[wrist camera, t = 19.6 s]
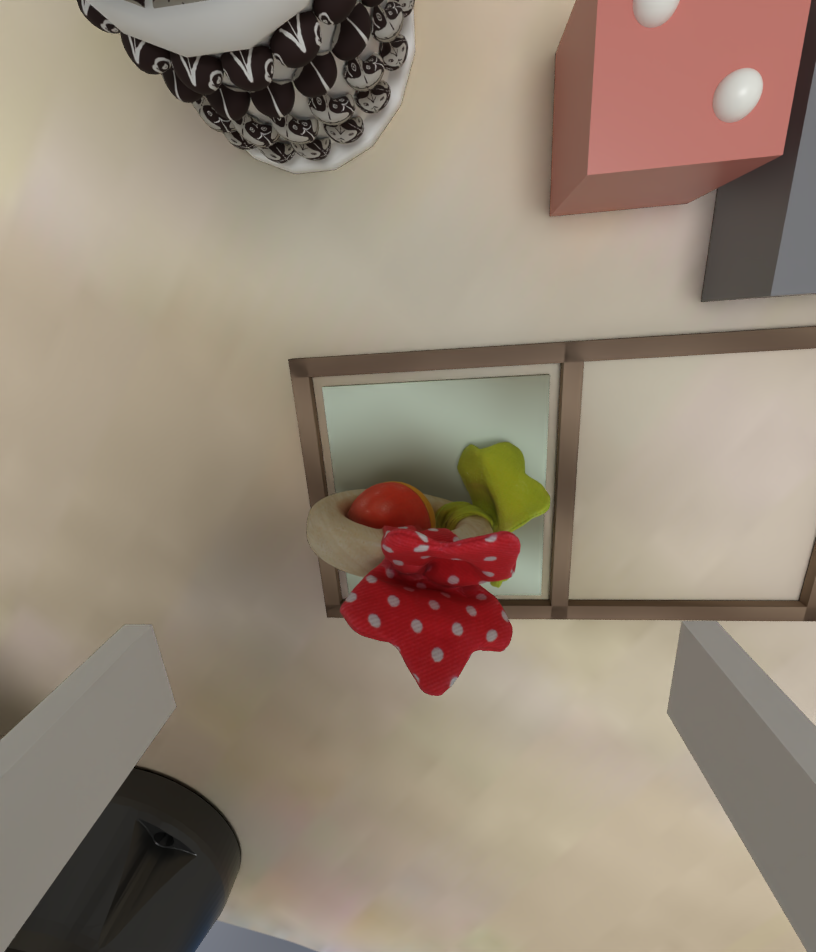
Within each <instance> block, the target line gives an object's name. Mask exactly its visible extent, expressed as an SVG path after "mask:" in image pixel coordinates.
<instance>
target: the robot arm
mask: <svg viewBox="0 0 816 952" xmlns="http://www.w3.org/2000/svg"><path fill="white" fill-rule="evenodd" d="M176 707H177V706H176V703H175V700H174V696H173V693H172V690H171V686H170V683H169V680H168V676H167V673H166V670H165V666H164V663H163V660H162V656H161V653H160V650H159V646H158V643H157V640H156V636H155V633H154V630H153V626H152V624H137V625H124V626H122V627H121V628H120V629H119V630H118V631H117V632H116V633H115V634H114V635H113V636H112V637H111V638H110V639H108V640H107V641H106V642H105V643H104V644H103V645H102V646H101V647H100V648H99V649H98V650H97V651H96V652H94V653H93V654H92V655H91V656H90V657H89V658H88V659H87V660H86V661H85V662H84V663H83V664H82V665H80V666H79V667H78V668H77V669H76V670H75V671H74V672H73V673H72V674H71V675H70V676H69V677H68V678H66V679H65V680H64V681H63V682H62V683H61V684H60V685H59V686H58V687H57V688H56V689H55V690H54V691H53V692H51V693H50V694H49V695H48V696H47V697H46V698H45V699H44V700H43V701H42V702H41V703H40V704H39V705H37V706H36V707H35V708H34V709H33V710H32V711H31V712H30V713H29V714H28V715H27V716H26V717H25V718H23V719H22V720H21V721H20V722H19V723H18V724H17V725H16V726H15V727H14V728H13V729H12V730H11V731H9V732H8V733H7V734H6V735H5V736H4V737H3V738H2V739H1V740H0V952H195V951H196V949H197V948H198V946H199V945H200V943H201V942H202V940H203V939H204V937H205V936H206V935H207V933H208V932H209V930H210V929H211V927H212V926H213V924H214V923H215V921H216V920H217V919H218V917H219V916H220V914H221V912H222V910H223V908H224V906H225V904H226V902H227V900H228V897H229V894H230V892H231V889H232V887H233V884H234V882H235V879H236V877H237V874H238V871H239V868H240V850H239V846H238V843H237V840H236V838H235V836H234V834H233V832H232V830H231V829H230V827H229V826H228V824H227V823H226V822H225V820H224V819H223V818H222V817H221V816H220V814H219V813H218V812H217V811H216V810H215V809H214V808H213V807H211V806H210V805H209V804H208V803H207V802H206V801H204V800H203V799H202V798H200V797H199V796H198V795H196V794H195V793H193V792H191V791H190V790H188V789H187V788H185V787H183V786H181V785H179V784H177V783H175V782H173V781H171V780H169V779H166V778H164V777H161V776H159V775H156V774H153V773H150V772H146V771H143V770H138V769H134V766H135V765H136V764H137V762H138V761H139V759H140V758H141V757H142V755H143V754H144V752H145V751H146V749H147V748H148V747H149V745H150V744H151V742H152V741H153V739H154V738H155V737H156V735H157V734H158V732H159V731H160V730H161V728H162V727H163V725H164V724H165V722H166V721H167V720H168V718H169V717H170V715H171V714H172V712H173V711H174V710H175V708H176ZM667 714H668V715H669V717H670V719H671V720H672V722H673V724H674V726H675V727H676V729H677V731H678V732H679V734H680V736H681V737H682V739H683V741H684V743H685V744H686V746H687V748H688V749H689V751H690V753H691V755H692V756H693V758H694V760H695V761H696V763H697V765H698V766H699V768H700V770H701V772H702V773H703V775H704V777H705V778H706V780H707V782H708V784H709V785H710V787H711V789H712V790H713V792H714V794H715V795H716V797H717V799H718V801H719V802H720V804H721V806H722V807H723V809H724V811H725V813H726V814H727V816H728V818H729V819H730V821H731V823H732V824H733V826H734V828H735V830H736V831H737V833H738V835H739V836H740V838H741V840H742V842H743V843H744V845H745V847H746V848H747V850H748V852H749V853H750V855H751V857H752V859H753V860H754V862H755V864H756V865H757V867H758V869H759V870H760V872H761V874H762V876H763V877H764V879H765V881H766V882H767V884H768V886H769V888H770V889H771V891H772V893H773V894H774V896H775V898H776V899H777V901H778V903H779V905H780V906H781V908H782V910H783V911H784V913H785V915H786V917H787V918H788V920H789V922H790V923H791V925H792V927H793V928H794V930H795V932H796V934H797V935H798V937H799V939H800V940H801V942H802V944H803V946H804V947H805V949H806V951H807V952H816V726H815V725H814V724H813V723H812V722H811V721H810V720H809V719H808V718H807V717H806V716H805V714H804V713H803V712H802V711H801V710H800V709H799V708H798V707H797V706H796V705H795V704H794V703H793V702H792V701H791V700H790V699H789V697H788V696H787V695H786V694H785V693H784V692H783V691H782V690H781V689H780V688H779V687H778V686H777V685H776V684H775V683H774V682H773V680H772V679H771V678H770V677H769V676H768V675H767V674H766V673H765V672H764V671H763V670H762V669H761V668H760V667H759V666H758V665H757V663H756V662H755V661H754V660H753V659H752V658H751V657H750V656H749V655H748V654H747V653H746V652H745V651H744V650H743V649H742V648H741V646H740V645H739V644H738V643H737V642H736V641H735V640H734V639H733V638H732V637H731V636H730V635H729V634H728V633H727V632H726V631H725V629H724V628H723V627H722V626H721V625H720V624H719V623H718V622H717V621H682V622H681V628H680V634H679V640H678V647H677V653H676V659H675V665H674V671H673V678H672V684H671V690H670V696H669V703H668V709H667Z"/></svg>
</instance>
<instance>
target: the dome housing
mask: <svg viewBox="0 0 816 952" xmlns="http://www.w3.org/2000/svg"><path fill="white" fill-rule="evenodd" d="M717 188H718V190H717V197H716V204H715V211H714V218H713V225H712V232H711V239H710V245H709V252H708V259H707V266H706V273H705V280H704V287H703V293H702V300H701V302H707V301H722V300H736V299H750V298H765V297H779V296H793V295H807V294H816V0H576V2H575V4H574V7H573V9H572V12H571V15H570V17H569V20H568V23H567V25H566V28H565V30H564V33H563V36H562V38H561V41H560V43H559V46H558V49H557V51H556V57H555V85H554V112H553V139H552V166H551V194H550V216H560V215H571V214H581V213H592V212H602V211H613V210H624V209H634V208H645V207H655V206H666V205H676V204H687V203H689V202H691V201H693V200H695V199H697V198H699V197H701V196H703V195H705V194H707V193H709V192H711V191H713V190H715V189H717Z"/></svg>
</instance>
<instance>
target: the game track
mask: <svg viewBox="0 0 816 952" xmlns="http://www.w3.org/2000/svg"><path fill="white" fill-rule="evenodd" d="M810 348H816V326H810V327H794V328H778V329H762V330H746V331H730V332H714V333H698V334H682V335H666V336H650V337H634V338H618V339H602V340H586V341H570V342H554V343H538V344H522V345H506V346H490V347H474V348H458V349H442V350H426V351H410V352H394V353H378V354H362V355H346V356H330V357H314V358H298V359H289V360H288V361H289V367H290V374H291V381H292V387H293V394H294V401H295V407H296V414H297V420H298V427H299V434H300V440H301V447H302V454H303V460H304V467H305V473H306V480H307V487H308V493H309V500H310V506H311V508H312V507H313V506H314V505H315V504H316V503H317V502H318V501H320V500H321V499H323V498H325V497H327V496H328V491H327V484H326V477H325V469H324V462H323V455H322V447H321V440H320V432H319V425H318V418H317V410H316V403H315V395H314V388H313V381H312V377H320V376H338V375H355V374H373V373H390V372H408V371H425V370H443V369H460V368H478V367H495V366H513V365H530V364H548V363H561V375H560V396H559V416H558V436H557V457H556V477H555V497H554V518H553V538H552V559H551V579H550V599H549V600H498V601H499V603H500V604H501V606H502V607H503V609H504V611H505V613H506V615H507V617H508V619H590V620H717V621H816V541H815V544H814V548H813V552H812V555H811V559H810V563H809V566H808V570H807V574H806V577H805V581H804V585H803V589H802V592H801V596H800V600H799V601H685V600H568V596H569V581H570V566H571V551H572V536H573V520H574V505H575V490H576V475H577V460H578V444H579V429H580V414H581V399H582V384H583V368H584V361H600V360H618V359H635V358H653V357H670V356H688V355H705V354H723V353H740V352H758V351H775V350H793V349H810ZM549 389H550V375H549V374H542V375H524V376H505V377H487V378H469V379H450V380H432V381H414V382H395V383H377V384H358V385H340V386H324V387H322V391H323V398H324V406H325V414H326V422H327V430H328V437H329V445H330V453H331V461H332V468H333V476H334V484H335V492H336V493H340V492H344V491H350V490H358V489H368V488H369V487H371V486H373V485H376V484H379V483H383V482H389V481H397V482H403V483H406V484H409V485H411V486H413V487H415V488H417V489H418V490H419V491H421V492H422V493H423V494H427V495H431V496H435V497H439V498H443V499H446V500H449V501H452V502H456V501H464V502H468V503H470V504H472V500H471V498H470V494H469V492H468V491H467V489H466V487H465V485H464V483H463V481H462V478H461V476H460V474H459V472H458V469H457V466H458V462H459V458H460V456H461V454H462V452H463V450H464V449H465V448H466V447H467V446H469V445H471V444H472V445H475V446H476V447H478V448H479V449H482V448H486V447H489V446H492V445H494V444H497V443H500V442H510V443H511V444H513V445H515V446H516V447H518V448H519V449H520V450H521V451H522V453H523V456H524V459H525V473H526V474H527V475H528V476H530V477H531V478H533V479H535V480H536V481H538V482H539V483H541V484H542V485H543V487H544V488H545V486H546V462H547V438H548V413H549ZM511 533H513V534H514V535H516V536H517V537H518V538H519V541H520V544H521V547H520V554H519V556H518V558H517V560H516V568H515V573H514V574H513V576H512V577H511V578H509V579H508V580H507V581H504V582H502V584H501V586H500V587H499V588H497V587H494V586H492V585H491V584H490V582H486V583H484V584H479V585H481V586H482V587H483V588H485V589H486V590H487V591H488V592H490V593H491V594H492V595H541V583H542V559H543V534H544V514H542V515H540V516H538V517H535V518H533V519H531V520H530V521H529V522H527V523H526V524H525V525H523V526H521V527H520V528H518V529H516V530H515V531H513V532H511ZM318 559H319V566H320V573H321V579H322V586H323V593H324V599H325V606H326V612H327V617H335V618H344V617H343V616H342V614H341V613H340V607H341V605H342V604H343V603H344V601H345V600H346V599H342V595H341V587H340V580H339V573H338V569H337V568H336V567H334V566H332V565H330V564H328V563H327V562H325V561H324V560H322V559H321V558H320V557H318ZM346 577H347V585H348V592H349V594H350V593H351V592H352V590H353V589H354V588H355V587H356V586H357V584H358V583H359V582H360V581H361V580H362V579H363V577H359V576H356V575H353V574H350V573H347V572H346Z"/></svg>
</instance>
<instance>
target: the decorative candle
mask: <svg viewBox="0 0 816 952" xmlns="http://www.w3.org/2000/svg"><path fill="white" fill-rule="evenodd" d="M77 2H78V5H79V8H80V10H81V12H82V13H83V14H84V16H85V17H86V18H87V19H88V20H89V21H90V22H91V23H92V24H93V25H94V26H96V27H98V28H99V29H101V30H103V31H105V32H108V33H120V34H121V39H122V43H123V45H124V48H125V50H126V52H127V54H128V55H129V57H130V58H131V60H132V61H133V62H134V63H135V64H136V65H137V67H138V68H139V69H140V70H142V71H144V72H146V73H148V74H162V77H163V79H164V81H165V83H166V85H167V87H168V88H169V90H170V91H171V93H172V94H173V95H174V96H175V97H176V98H177V99H179V100H181V101H183V102H187V103H192V104H193V106H194V108H195V109H196V110H197V112H198V113H199V115H200V116H201V118H202V119H203V120H204V121H205V123H206V124H207V125H208V126H209V127H210V128H212V129H214V130H216V131H218V132H222V133H224V135H225V137H226V138H227V139H228V140H229V142H230V143H231V144H232V145H233V146H235V147H237V148H239V149H243V150H246V151H247V152H248V153H249V154H250V155H251V156H253V157H254V158H255V159H257V160H259V161H262V162H265V163H267V164H270V165H273V166H275V167H278V168H281V169H283V170H286V171H289V172H291V173H294V174H300V173H309V172H319V171H328V170H336V169H338V168H339V167H341V166H342V165H344V164H346V163H347V162H349V161H350V160H352V159H353V158H355V157H357V156H358V155H360V154H361V153H363V152H364V151H366V150H368V149H369V148H371V147H372V146H373V145H374V144H375V142H376V141H377V139H378V138H379V136H380V135H381V133H382V132H383V131H384V129H385V128H386V126H387V125H388V123H389V122H390V120H391V119H392V118H393V116H394V115H395V113H396V112H397V110H398V109H399V107H400V106H401V103H402V99H403V96H404V92H405V88H406V85H407V81H408V77H409V74H410V70H411V66H412V63H413V59H414V55H415V28H414V2H415V0H77Z"/></svg>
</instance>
